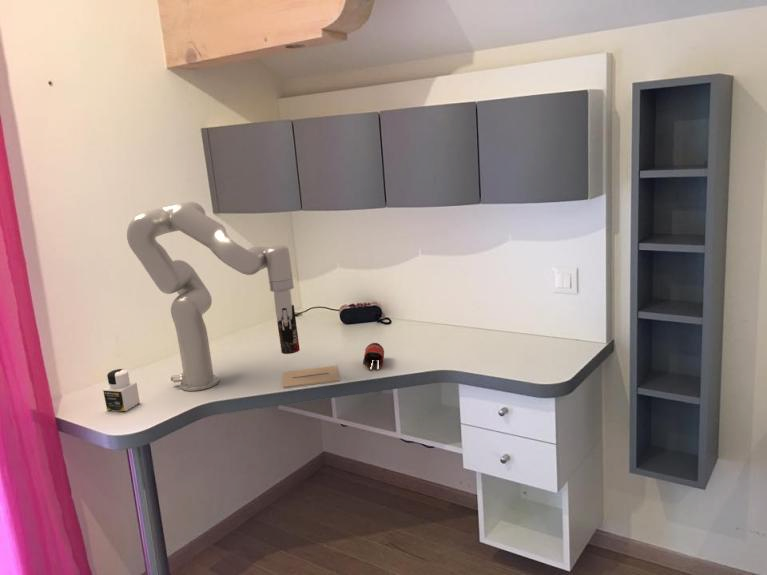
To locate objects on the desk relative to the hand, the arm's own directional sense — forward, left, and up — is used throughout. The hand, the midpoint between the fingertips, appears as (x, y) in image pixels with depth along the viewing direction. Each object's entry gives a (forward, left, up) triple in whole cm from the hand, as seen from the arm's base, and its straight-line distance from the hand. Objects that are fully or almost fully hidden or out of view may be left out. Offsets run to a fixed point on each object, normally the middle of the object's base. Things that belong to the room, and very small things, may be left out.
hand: (288, 337), depth 213 cm
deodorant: (0, 0, -5) cm, 5 cm away
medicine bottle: (-53, -5, -15) cm, 56 cm away
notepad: (+6, 0, -14) cm, 16 cm away
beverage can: (+28, +5, -15) cm, 32 cm away
